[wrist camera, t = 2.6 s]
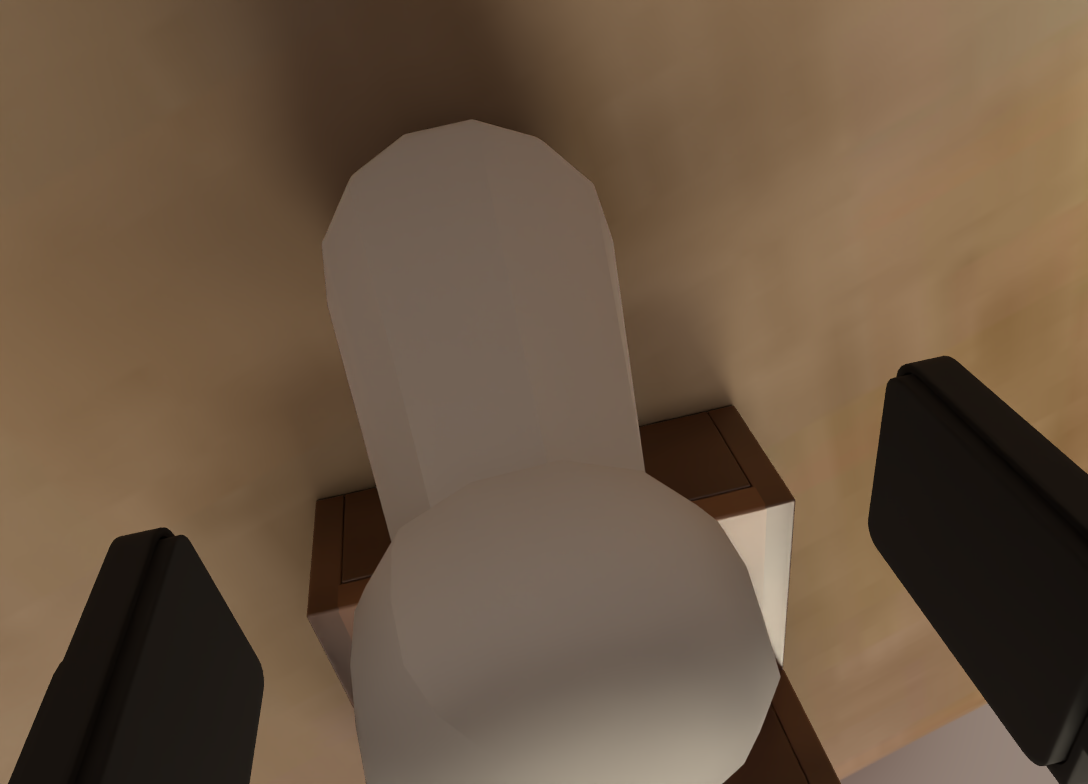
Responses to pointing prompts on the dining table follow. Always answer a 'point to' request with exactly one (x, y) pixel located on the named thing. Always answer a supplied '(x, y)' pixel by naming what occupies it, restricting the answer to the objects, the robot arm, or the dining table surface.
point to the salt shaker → (523, 492)
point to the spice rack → (682, 465)
